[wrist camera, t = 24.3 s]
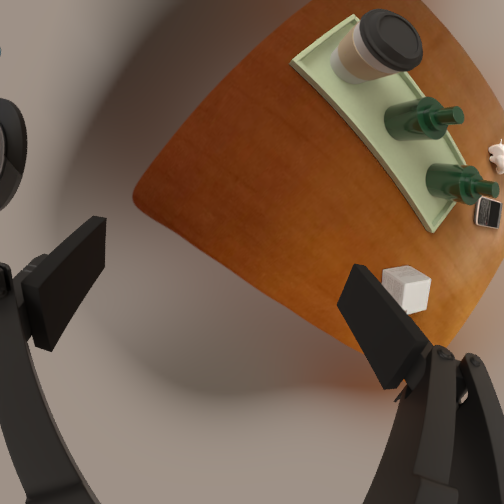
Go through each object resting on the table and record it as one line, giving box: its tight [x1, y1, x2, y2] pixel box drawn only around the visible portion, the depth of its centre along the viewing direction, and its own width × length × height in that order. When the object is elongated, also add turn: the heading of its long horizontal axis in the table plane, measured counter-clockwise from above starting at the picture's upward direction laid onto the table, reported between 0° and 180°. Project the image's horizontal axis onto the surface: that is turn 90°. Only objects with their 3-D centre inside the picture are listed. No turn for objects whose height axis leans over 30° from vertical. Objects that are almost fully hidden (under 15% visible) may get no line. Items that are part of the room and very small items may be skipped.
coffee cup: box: [330, 9, 423, 84], centre depth 30 cm, size 9×9×15 cm
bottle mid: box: [384, 97, 464, 141], centre depth 34 cm, size 6×6×14 cm
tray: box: [289, 14, 466, 233], centre depth 40 cm, size 38×16×2 cm, turn 46°
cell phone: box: [474, 196, 502, 229], centre depth 48 cm, size 6×11×1 cm, turn 86°
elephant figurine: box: [488, 139, 504, 174], centre depth 42 cm, size 7×8×6 cm
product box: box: [382, 265, 431, 315], centre depth 46 cm, size 6×6×7 cm
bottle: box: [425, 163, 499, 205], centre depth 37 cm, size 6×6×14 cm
